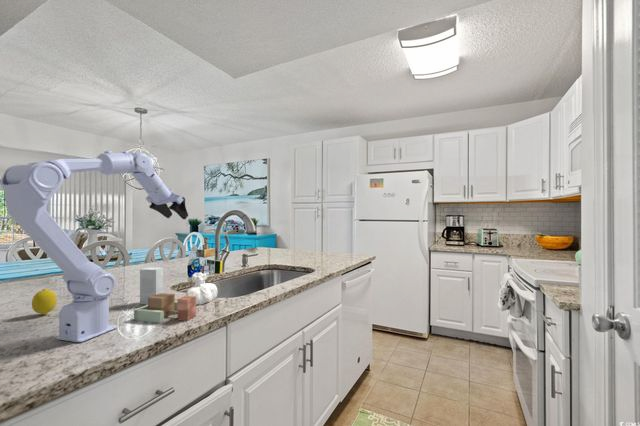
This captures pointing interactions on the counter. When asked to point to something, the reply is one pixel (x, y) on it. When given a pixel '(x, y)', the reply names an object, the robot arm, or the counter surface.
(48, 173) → the robot arm
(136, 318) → the green l-shaped block
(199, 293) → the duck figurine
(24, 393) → the counter surface
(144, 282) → the skincare box
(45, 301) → the lemon
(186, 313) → the tethered block
